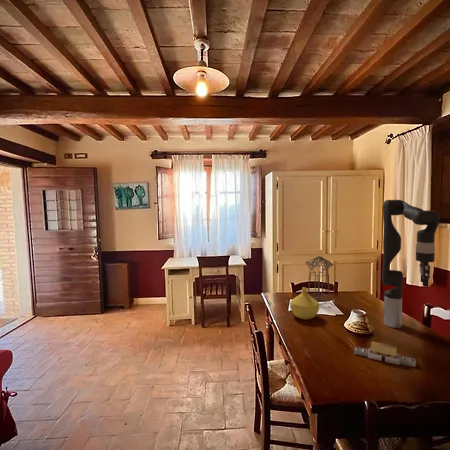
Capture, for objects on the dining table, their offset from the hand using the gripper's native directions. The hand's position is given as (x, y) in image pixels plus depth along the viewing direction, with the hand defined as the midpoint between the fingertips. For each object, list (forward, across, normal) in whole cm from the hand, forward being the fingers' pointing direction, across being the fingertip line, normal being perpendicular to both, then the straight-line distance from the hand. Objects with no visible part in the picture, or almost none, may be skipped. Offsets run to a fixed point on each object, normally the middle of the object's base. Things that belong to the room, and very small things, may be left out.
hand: (424, 284), depth 139 cm
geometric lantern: (+33, -50, -59) cm, 84 cm away
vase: (+33, -17, -62) cm, 72 cm away
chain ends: (+33, +18, -17) cm, 41 cm away
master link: (+33, +18, -17) cm, 41 cm away
